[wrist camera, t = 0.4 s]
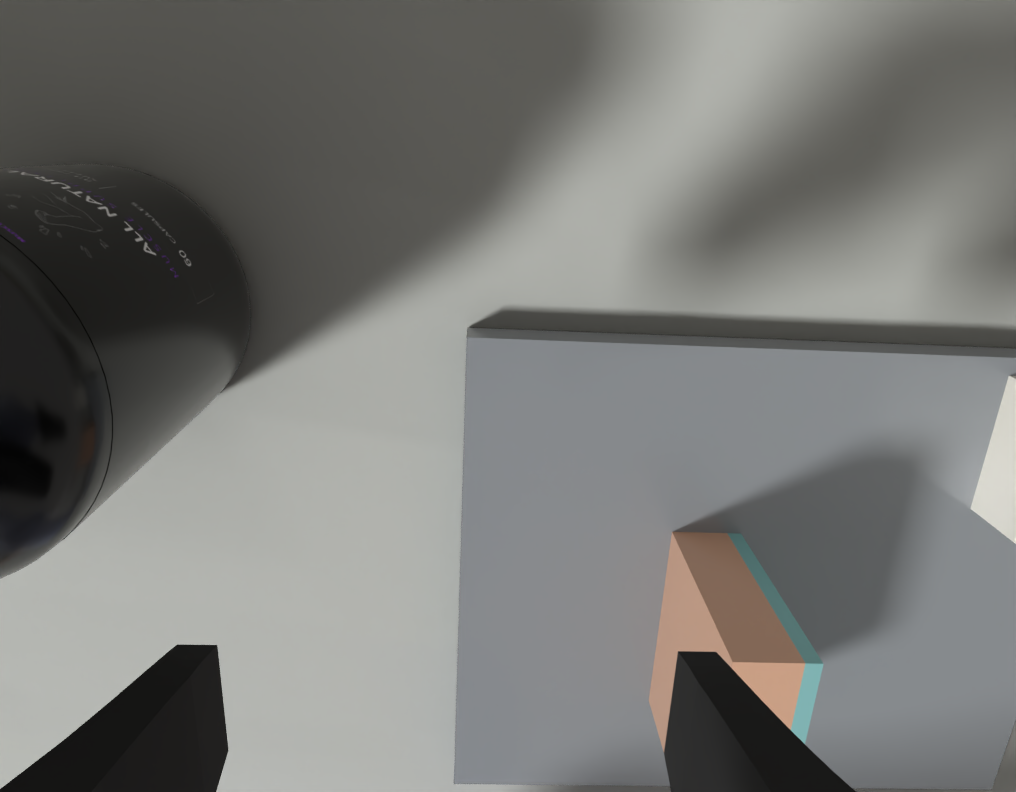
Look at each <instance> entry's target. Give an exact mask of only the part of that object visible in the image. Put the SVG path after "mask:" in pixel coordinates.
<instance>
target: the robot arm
mask: <svg viewBox="0 0 1016 792" xmlns="http://www.w3.org/2000/svg"><path fill="white" fill-rule="evenodd" d="M227 753H228V743H227V733H226V724H225V715H224V705H223V696H222V686H221V677H220V668H219V658H218V649H217V645H176V646H175V647H174V648H173V649H171V650H170V651H169V652H168V653H166V654H165V655H164V656H163V657H162V658H161V659H159V660H158V661H157V662H156V663H155V664H154V665H152V666H151V667H150V668H149V669H148V670H147V671H145V672H144V673H143V674H142V675H141V676H140V677H138V678H137V679H136V680H135V681H134V682H133V683H131V684H130V685H129V686H128V687H127V688H126V689H124V690H123V691H122V692H121V693H120V694H119V695H117V696H116V697H115V698H114V699H113V700H112V701H110V702H109V703H108V704H107V705H106V706H104V707H103V708H102V709H101V710H100V711H98V712H97V713H96V714H95V715H94V716H92V717H91V718H90V719H89V720H88V721H86V722H85V723H84V724H83V725H82V726H80V727H79V728H78V729H77V730H76V731H74V732H73V733H72V734H71V735H70V736H68V737H67V738H66V739H65V740H64V741H62V742H61V743H60V744H58V745H57V746H56V747H54V748H53V749H52V750H51V751H49V752H48V753H47V754H45V755H44V756H43V757H41V758H40V759H39V760H38V761H36V762H35V763H34V764H32V765H31V766H30V767H28V768H27V769H26V770H25V771H23V772H22V773H21V774H19V775H18V776H17V777H15V778H14V779H13V780H12V781H10V782H9V783H8V784H6V785H5V786H4V787H2V788H1V789H0V792H216V790H217V787H218V783H219V780H220V777H221V773H222V770H223V766H224V763H225V760H226V756H227ZM664 756H665V762H666V767H667V772H668V777H669V783H670V788H671V792H856V791H854V790H853V789H852V788H851V787H850V786H849V785H848V784H847V783H846V782H844V781H843V780H842V779H841V778H840V777H839V776H838V775H837V774H836V773H834V772H833V771H832V770H831V769H830V768H829V767H828V766H827V765H826V764H825V763H824V762H823V761H822V760H821V759H820V758H819V757H818V756H816V755H815V754H814V753H813V752H812V751H811V750H810V749H809V748H808V747H807V746H806V745H805V744H804V743H803V742H802V741H801V740H800V739H799V738H798V737H797V736H796V735H795V734H794V733H793V732H792V731H791V730H790V729H789V728H788V727H787V726H786V725H785V724H784V723H783V722H782V721H781V720H780V719H779V718H778V717H777V716H776V715H775V714H774V713H773V712H772V710H771V709H770V708H769V707H768V706H767V705H766V704H765V703H764V702H763V701H762V700H761V699H760V698H759V697H758V696H757V695H756V694H755V693H754V691H753V690H752V689H751V688H750V687H749V686H748V685H747V684H746V683H745V682H744V681H743V680H742V679H741V678H740V677H739V675H738V674H737V673H736V672H735V671H734V670H733V669H732V668H731V667H730V666H729V665H728V664H727V663H726V662H725V661H724V660H723V658H722V657H721V656H720V655H719V654H718V653H717V652H695V651H678V655H677V662H676V669H675V677H674V684H673V691H672V698H671V705H670V713H669V720H668V727H667V734H666V742H665V749H664Z"/></svg>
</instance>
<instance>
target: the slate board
mask: <svg viewBox="0 0 1016 792" xmlns="http://www.w3.org/2000/svg"><path fill="white" fill-rule="evenodd" d="M1009 376H1016V348H993V347H966V346H940V345H913V344H887V343H860V342H834V341H807V340H781V339H755V338H728V337H702V336H675V335H649V334H622V333H596V332H569V331H543V330H516V329H490V328H468V329H467V348H466V383H465V418H464V453H463V487H462V522H461V557H460V592H459V627H458V661H457V696H456V731H455V766H454V784H512V785H602V786H670V783H669V777H668V772H667V767H666V762H665V756H664V752H663V748H662V745H661V741H660V738H659V734H658V731H657V727H656V724H655V721H654V717H653V714H652V710H651V707H650V703H649V695H650V688H651V680H652V673H653V666H654V659H655V651H656V644H657V637H658V630H659V622H660V615H661V608H662V601H663V593H664V586H665V579H666V571H667V564H668V557H669V550H670V542H671V535H672V532H701V533H739V534H742V536H743V537H744V539H745V541H746V542H747V544H748V545H749V547H750V548H751V550H752V552H753V553H754V555H755V556H756V558H757V560H758V561H759V563H760V564H761V566H762V567H763V569H764V571H765V572H766V574H767V575H768V577H769V578H770V580H771V582H772V583H773V585H774V586H775V588H776V590H777V591H778V593H779V594H780V596H781V597H782V599H783V601H784V602H785V604H786V605H787V607H788V608H789V610H790V612H791V613H792V615H793V616H794V618H795V619H796V621H797V623H798V624H799V626H800V627H801V629H802V631H803V632H804V634H805V635H806V637H807V638H808V640H809V642H810V643H811V645H812V646H813V648H814V649H815V651H816V653H817V654H818V656H819V657H820V659H821V660H822V662H823V669H822V673H821V677H820V682H819V686H818V690H817V694H816V699H815V703H814V707H813V712H812V716H811V720H810V725H809V729H808V733H807V738H806V742H805V745H806V746H807V747H808V748H809V749H810V750H811V751H812V752H813V753H814V754H815V755H816V756H818V757H819V758H820V759H821V760H822V761H823V762H824V763H825V764H826V765H827V766H828V767H829V768H830V769H831V770H832V771H833V772H834V773H836V774H837V775H838V776H839V777H840V778H841V779H842V780H843V781H844V782H846V783H847V784H848V785H849V786H850V787H851V788H874V789H964V790H991V789H992V787H993V784H994V781H995V778H996V775H997V772H998V769H999V767H1000V764H1001V761H1002V758H1003V755H1004V752H1005V749H1006V747H1007V744H1008V741H1009V738H1010V735H1011V732H1012V729H1013V727H1014V724H1015V721H1016V544H1015V543H1014V542H1012V541H1011V540H1010V539H1009V538H1007V537H1006V536H1005V535H1003V534H1002V533H1001V532H1000V531H998V530H997V529H996V528H995V527H993V526H992V525H991V524H989V523H988V522H987V521H986V520H984V519H983V518H982V517H980V516H979V515H978V514H977V513H975V512H974V511H973V510H971V509H970V508H971V505H972V501H973V498H974V495H975V491H976V488H977V484H978V481H979V477H980V474H981V470H982V467H983V463H984V460H985V456H986V453H987V450H988V446H989V443H990V439H991V436H992V432H993V429H994V425H995V422H996V418H997V415H998V411H999V408H1000V405H1001V401H1002V398H1003V394H1004V391H1005V387H1006V384H1007V380H1008V377H1009Z"/></svg>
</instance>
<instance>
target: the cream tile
mask: <svg viewBox="0 0 1016 792" xmlns="http://www.w3.org/2000/svg"><path fill="white" fill-rule="evenodd" d="M970 509H971V510H973V511H974V512H975V513H977V514H978V515H979V516H980V517H982V518H983V519H984V520H986V521H987V522H988V523H989V524H991V525H992V526H993V527H995V528H996V529H997V530H998V531H1000V532H1001V533H1002V534H1003V535H1005V536H1006V537H1007V538H1009V539H1010V540H1011V541H1012V542H1014V543H1015V544H1016V376H1009V377H1008V380H1007V384H1006V387H1005V391H1004V394H1003V398H1002V401H1001V405H1000V408H999V411H998V415H997V418H996V422H995V425H994V429H993V432H992V436H991V439H990V443H989V446H988V450H987V453H986V456H985V460H984V463H983V467H982V470H981V474H980V477H979V481H978V484H977V488H976V491H975V495H974V498H973V501H972V505H971V508H970Z"/></svg>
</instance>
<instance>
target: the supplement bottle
mask: <svg viewBox="0 0 1016 792" xmlns="http://www.w3.org/2000/svg"><path fill="white" fill-rule="evenodd" d="M250 320H251V309H250V298H249V291H248V286H247V283H246V279H245V275H244V272H243V270H242V267H241V264H240V262H239V260H238V258H237V255H236V253H235V251H234V250H233V248H232V246H231V244H230V243H229V241H228V239H227V238H226V236H225V235H224V234H223V232H222V231H221V229H220V228H219V227H218V226H217V225H216V223H215V222H214V221H213V220H212V219H211V217H210V216H209V215H208V214H207V213H206V212H205V211H203V210H202V209H201V208H200V207H199V206H198V205H197V204H196V203H194V202H193V201H192V200H191V199H190V198H188V197H187V196H185V195H184V194H183V193H181V192H180V191H178V190H177V189H175V188H173V187H172V186H170V185H168V184H166V183H165V182H163V181H161V180H159V179H156V178H154V177H152V176H150V175H147V174H144V173H142V172H139V171H136V170H132V169H128V168H124V167H119V166H112V165H104V164H61V165H43V166H28V167H12V168H0V579H1V578H3V577H5V576H7V575H10V574H12V573H14V572H16V571H18V570H20V569H22V568H24V567H26V566H27V565H29V564H31V563H32V562H34V561H36V560H37V559H39V558H40V557H41V556H43V555H44V554H45V553H47V552H48V551H49V550H50V549H52V548H53V547H54V546H56V545H57V544H58V543H59V542H61V541H62V540H63V539H65V538H66V537H67V536H68V535H69V534H70V533H71V532H72V531H73V530H75V529H76V528H77V527H78V526H79V525H80V524H81V523H82V522H83V521H84V520H85V519H86V518H87V517H89V516H90V515H91V514H92V513H93V512H94V511H95V510H96V509H97V508H98V507H99V506H100V505H101V504H103V503H104V502H105V501H106V500H107V499H108V498H109V497H110V496H111V495H112V494H113V493H114V492H115V491H116V490H118V489H119V488H120V487H121V486H122V485H123V484H124V483H125V482H126V481H127V480H128V479H129V478H130V477H132V476H133V475H134V474H135V473H136V472H137V471H138V470H139V469H140V468H141V467H142V466H143V465H144V464H145V463H147V462H148V461H149V460H150V459H151V458H152V457H153V456H154V455H155V454H156V453H157V452H158V451H159V450H161V449H162V448H163V447H164V446H165V445H166V444H167V443H168V442H169V441H170V440H171V439H172V438H173V437H175V436H176V435H177V434H178V433H179V432H180V431H181V430H182V429H183V428H184V427H185V426H186V425H187V424H188V423H190V422H191V421H192V420H193V419H194V418H195V417H196V416H197V415H198V414H199V413H200V412H201V411H202V410H203V409H204V408H205V407H207V406H208V405H209V403H210V402H211V401H212V400H213V399H214V398H215V397H216V396H217V395H218V394H219V393H220V392H221V391H222V390H223V389H224V388H225V386H226V385H227V384H228V383H229V381H230V380H231V378H232V377H233V375H234V374H235V372H236V371H237V369H238V367H239V365H240V363H241V361H242V358H243V355H244V353H245V350H246V346H247V342H248V338H249V331H250Z"/></svg>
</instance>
